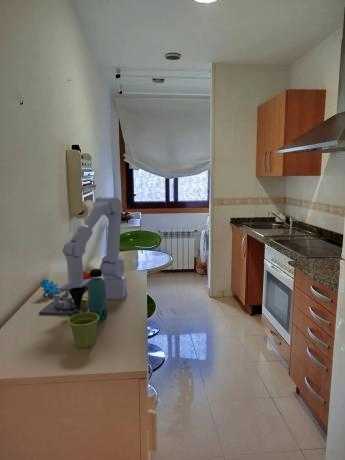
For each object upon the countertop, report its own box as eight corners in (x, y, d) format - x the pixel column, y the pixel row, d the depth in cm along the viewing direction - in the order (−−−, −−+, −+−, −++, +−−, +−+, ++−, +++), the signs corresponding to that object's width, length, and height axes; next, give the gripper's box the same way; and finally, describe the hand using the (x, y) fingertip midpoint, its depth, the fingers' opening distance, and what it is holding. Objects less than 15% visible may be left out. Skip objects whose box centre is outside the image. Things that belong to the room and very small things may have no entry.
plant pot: (93, 352, 99) (92, 325, 98) (64, 350, 101) (62, 323, 100) (104, 338, 109) (103, 313, 107) (77, 336, 110) (76, 311, 109)
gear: (52, 296, 143) (38, 279, 145) (44, 305, 144) (29, 288, 146) (66, 291, 154) (52, 275, 155) (57, 300, 155) (44, 284, 156)
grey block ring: (67, 297, 143) (66, 288, 142) (95, 301, 137) (95, 291, 137) (49, 306, 133) (48, 296, 132) (78, 311, 127) (77, 301, 127)
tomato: (98, 285, 162) (97, 271, 161) (81, 292, 153) (80, 276, 152) (83, 282, 168) (82, 268, 167) (65, 288, 159) (64, 273, 158)
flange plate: (96, 299, 143) (96, 297, 143) (81, 315, 127) (80, 313, 126) (59, 298, 145) (59, 296, 145) (39, 314, 129) (39, 311, 129)
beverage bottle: (91, 329, 115) (88, 273, 112) (87, 322, 121) (84, 269, 118) (110, 325, 118) (107, 270, 115) (104, 318, 124) (102, 266, 121)
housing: (78, 304, 138) (77, 292, 138) (73, 309, 133) (72, 297, 132) (65, 304, 139) (65, 292, 138) (59, 309, 134) (58, 296, 133)
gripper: (62, 278, 120) (65, 314, 122) (97, 270, 130) (99, 303, 132) (53, 274, 125) (56, 308, 127) (88, 267, 135) (90, 298, 137)
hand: (77, 305), depth 130 cm, fingers closed
